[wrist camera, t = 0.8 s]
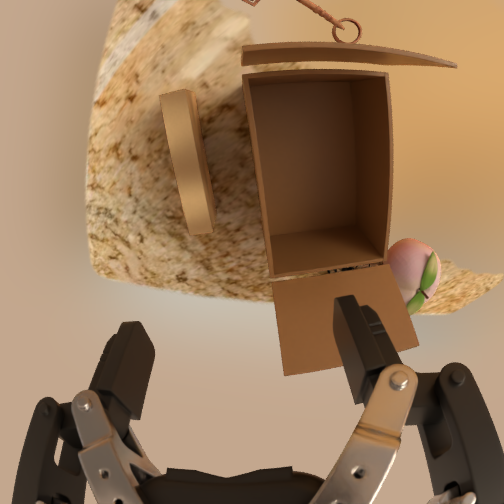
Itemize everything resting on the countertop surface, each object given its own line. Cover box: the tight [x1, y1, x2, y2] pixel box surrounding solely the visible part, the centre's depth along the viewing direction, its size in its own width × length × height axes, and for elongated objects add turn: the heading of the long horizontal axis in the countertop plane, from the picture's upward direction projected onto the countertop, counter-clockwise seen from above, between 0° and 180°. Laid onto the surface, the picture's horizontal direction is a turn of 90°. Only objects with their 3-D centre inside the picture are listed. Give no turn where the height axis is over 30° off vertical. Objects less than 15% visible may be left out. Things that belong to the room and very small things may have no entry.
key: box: [242, 0, 362, 44], centre depth 19 cm, size 6×1×15 cm
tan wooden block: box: [159, 89, 217, 236], centre depth 26 cm, size 14×2×5 cm, turn 8°
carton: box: [241, 42, 457, 278], centre depth 21 cm, size 19×12×17 cm, turn 8°
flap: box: [271, 264, 419, 376], centre depth 22 cm, size 9×12×1 cm
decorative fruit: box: [383, 238, 441, 316], centre depth 30 cm, size 9×8×10 cm
